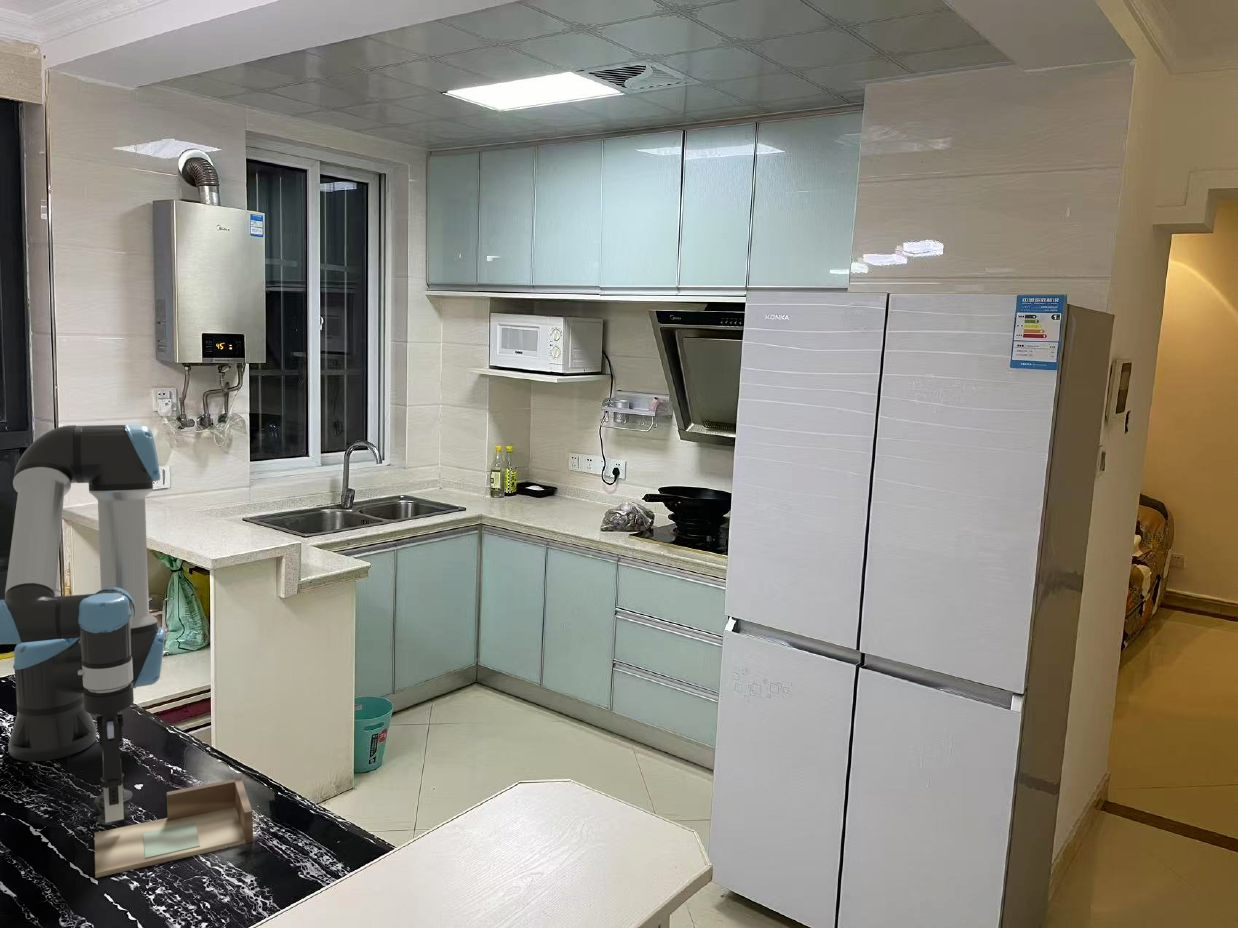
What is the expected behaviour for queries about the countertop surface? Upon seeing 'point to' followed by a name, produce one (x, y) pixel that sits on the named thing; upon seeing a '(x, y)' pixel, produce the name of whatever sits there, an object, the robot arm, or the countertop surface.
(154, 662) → the robot arm
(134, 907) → the countertop surface
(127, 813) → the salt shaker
